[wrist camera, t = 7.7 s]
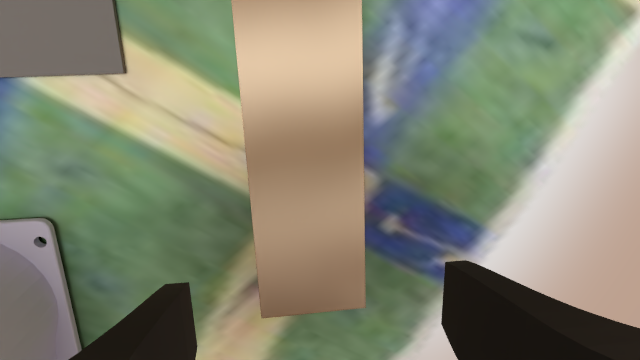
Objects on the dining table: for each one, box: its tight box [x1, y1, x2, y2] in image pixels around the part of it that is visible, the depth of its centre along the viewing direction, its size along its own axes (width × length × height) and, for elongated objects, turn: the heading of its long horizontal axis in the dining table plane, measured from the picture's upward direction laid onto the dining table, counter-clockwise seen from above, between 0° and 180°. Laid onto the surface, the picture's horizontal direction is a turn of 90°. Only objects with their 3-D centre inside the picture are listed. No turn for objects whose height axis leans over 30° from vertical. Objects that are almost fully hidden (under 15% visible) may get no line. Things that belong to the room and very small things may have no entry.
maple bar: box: [231, 0, 366, 318], centre depth 16 cm, size 12×4×5 cm, turn 2°
